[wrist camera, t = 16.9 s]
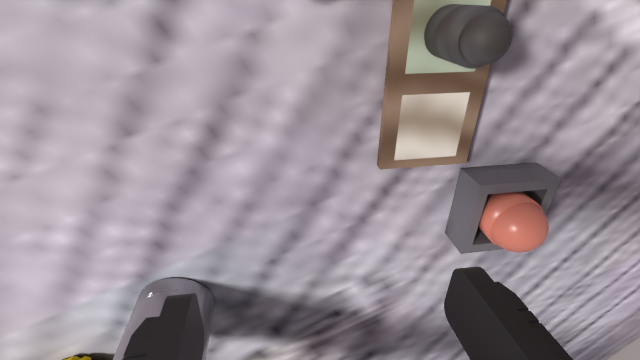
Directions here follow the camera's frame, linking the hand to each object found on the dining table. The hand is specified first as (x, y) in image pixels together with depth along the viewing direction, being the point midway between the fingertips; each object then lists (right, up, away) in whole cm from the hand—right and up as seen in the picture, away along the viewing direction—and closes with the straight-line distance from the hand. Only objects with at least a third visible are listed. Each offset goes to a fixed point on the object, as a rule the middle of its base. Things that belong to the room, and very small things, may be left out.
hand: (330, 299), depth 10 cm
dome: (+21, 0, +29) cm, 36 cm away
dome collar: (+21, +1, +31) cm, 37 cm away
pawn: (+11, +17, +19) cm, 28 cm away
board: (+11, +14, +22) cm, 28 cm away
